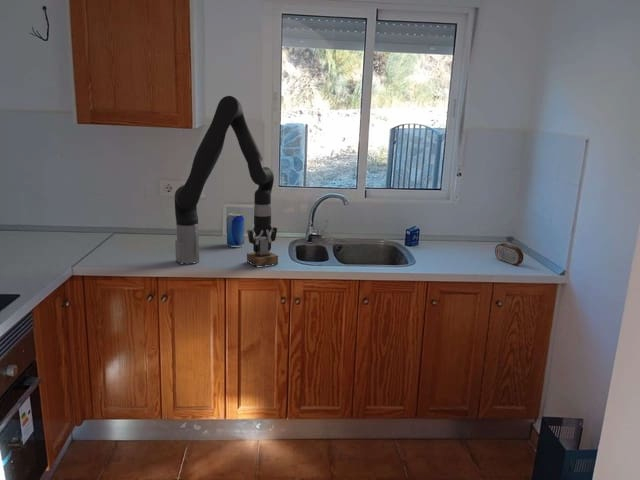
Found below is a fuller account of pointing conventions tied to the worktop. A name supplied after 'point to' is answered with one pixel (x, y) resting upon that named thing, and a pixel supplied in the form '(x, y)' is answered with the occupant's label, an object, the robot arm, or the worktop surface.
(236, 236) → the beer can
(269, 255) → the wooden square frame
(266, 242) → the peg
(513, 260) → the tin
